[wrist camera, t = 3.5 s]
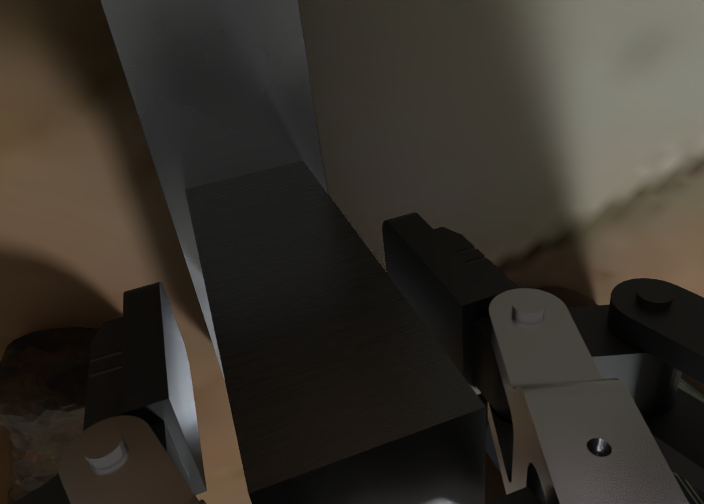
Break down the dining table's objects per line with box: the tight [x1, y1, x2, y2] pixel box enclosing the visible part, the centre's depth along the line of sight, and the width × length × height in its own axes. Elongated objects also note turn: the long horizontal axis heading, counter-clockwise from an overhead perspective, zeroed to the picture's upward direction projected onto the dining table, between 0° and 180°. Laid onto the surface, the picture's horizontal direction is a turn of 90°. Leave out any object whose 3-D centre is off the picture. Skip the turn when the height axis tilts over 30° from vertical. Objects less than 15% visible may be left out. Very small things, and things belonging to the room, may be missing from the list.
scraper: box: [101, 0, 486, 504], centre depth 12 cm, size 4×12×12 cm, turn 7°
